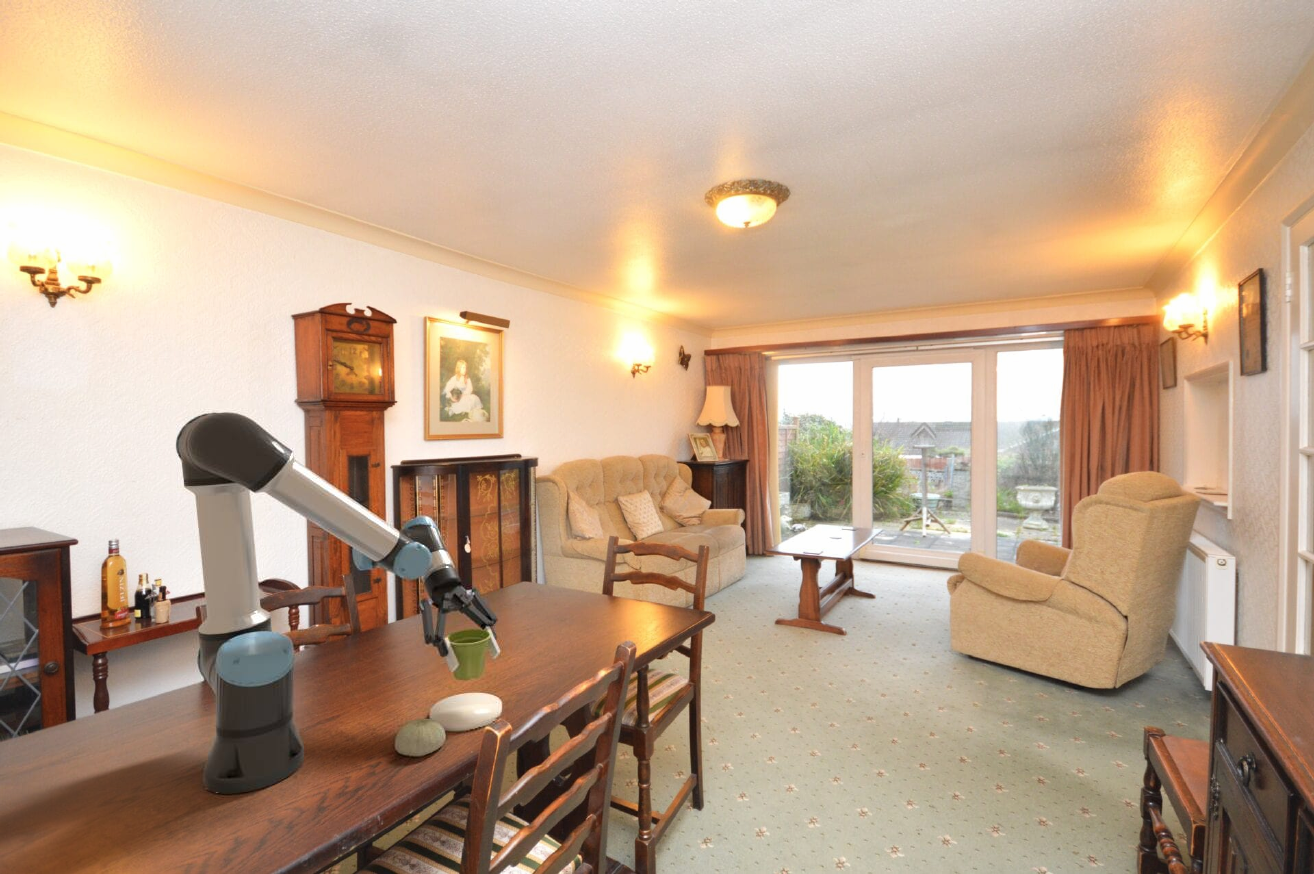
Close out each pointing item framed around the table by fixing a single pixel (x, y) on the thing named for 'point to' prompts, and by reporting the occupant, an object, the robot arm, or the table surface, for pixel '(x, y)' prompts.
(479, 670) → the plant pot
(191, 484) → the robot arm
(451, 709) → the white flat rounded piece
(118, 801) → the table surface
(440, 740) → the sea urchin shell
